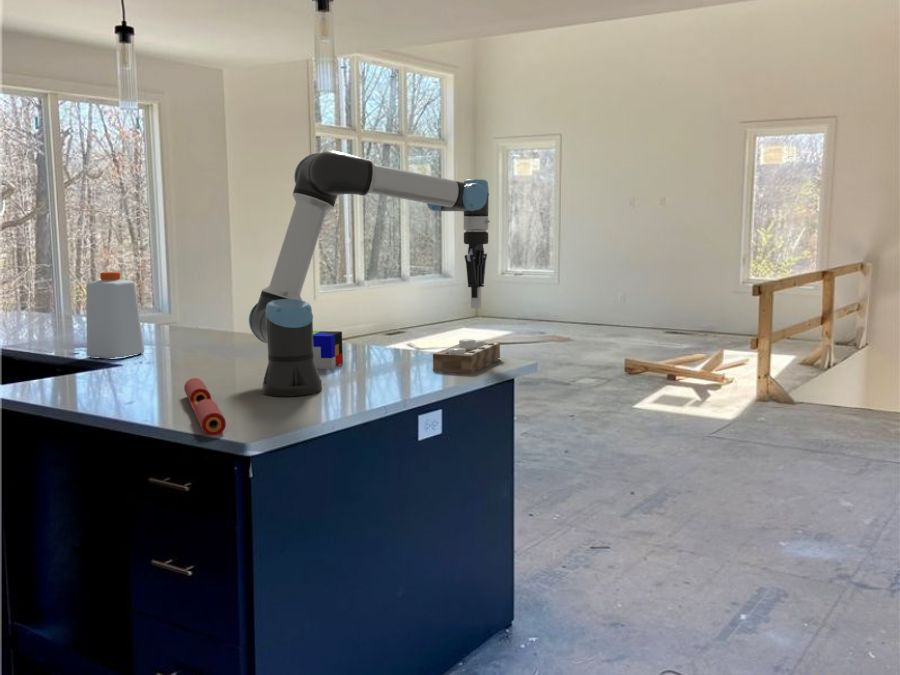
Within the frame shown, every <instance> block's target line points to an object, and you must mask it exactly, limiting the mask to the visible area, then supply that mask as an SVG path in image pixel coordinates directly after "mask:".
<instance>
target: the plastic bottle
mask: <svg viewBox="0 0 900 675" xmlns="http://www.w3.org/2000/svg"><path fill="white" fill-rule="evenodd" d="M99 276H100V277H99V278H100V279H99V280H94V281H91V282H90V281H89V282H88V283H87V284H86V288H85V290H86V297H85V298H86V302H85V304H86V308H85V309H86V310H85V311H86V356H87V357H88V356H90V357H99V358H115V357H124V356H129V355H134V354H140V353H143V354H144V352H145V346H144V345H145V344H144V339H143V338H144V337H143V331H142V325H141V324H142V323H141V319H140V309H139V304H138V297H137V289H136V284H135V282H134V281H133V280H130V279H121V273H120V272H119V271H104V272H103V271H102V272H100V274H99Z"/></svg>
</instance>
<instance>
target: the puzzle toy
mask: <svg viewBox="0 0 900 675" xmlns="http://www.w3.org/2000/svg"><path fill="white" fill-rule="evenodd" d="M313 350H314V362H315V365H316V368H317V370H319V369H321V370H333V369H334V368H337V367H338V366H340V365H342V364H343V363H344V361H343V360H344V356H343V355H344V354H343V353H344V352H343V332H342V331H337V330H336V331H333V330H330V331H326V330H325V331H324V330H313ZM341 363H342V364H341ZM339 364H340V365H339ZM336 366H337V367H336Z"/></svg>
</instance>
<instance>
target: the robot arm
mask: <svg viewBox="0 0 900 675" xmlns="http://www.w3.org/2000/svg"><path fill="white" fill-rule="evenodd" d="M293 178H294V183H295V184H294V189H293V192H292V197H293V199H294V201H295V203H294V207H293V210H292V214H291V217H290V219H289V223H288V226H287V230H286V232H285V236H284V239H283V242H282V245H281V248H280V251H279V254H278V257H277V261H276V264H275V267H274V269H273V274H272V276H271V280H270V283H269V285H268V286H267V287H265V288H263V289H261V291H260V292H261V293H260V295H259V298H258V302H257V303H255V305H254V306H253V307H252V309H251V310H250V312H249V315H248V325H249V329H250V330H251V333H252V334H253V335H254V337H256V339H258V340H259V341H261V342H262V343H264V344H267V357H268V358H267V359H268V360H267V361H268V364H267V366H266V370H265V373H264V378H263V381H262V394H264V395H267V396H272V397H298V396H299V397H300V396H306V395H307V396H308V395H312V394H317V393H319V392H320V391H322V389H323V386H322V385H323V384H322V380H321V376H320V373H319V371H318V370H319V369H317V368H316V365H315V362H314V350H313V331H314V326H313V323H314V322H313V319H314V314H313V311H312V310H313V309H312V306H311V304H310V303H309V302H307V301H305V300H303V299H302V297H301V293H302V290H303V287H304V284H305V280H306V277H307V274H308V270H309V268H310V265H311V261H312V258H313V255H314V252H315V249H316V246H317V242H318V239H319V236H320V233H321V229H322V227H323V224H324V221H325V217H326V214H327V212H329V211H332V210H334V207H335V204H336V201H337V199H338V196H339V195H358V196H367V195H368V194H373V195H374V194H375V195H380V196H386V197H391V198H396V199H402V200H408V201H413V202H418V203H423V204H424V203H426V206H427V207H428V209H429V210H430V211H432V212H439V213H441V212H463V230H464V231H465V232H463V244H465V245H468V248H467V254H464V261H465V266H466V277H467V278H466V279H467V287H468V288H470V309H476V310H479V309H482V288H483V287H485V274H486V262H487V257H488V253H485V249H484V245H488V244H489V232H488V230H489V223H490V222H491V221H490V220H489V199H490V198H489V196H490V192H489V182H488V181H487V180H486V179H479V178H478V179H477V178H476V179H474V178H473V179H472V178H471V179H464V181H463V182H462V181H458V180H457V181H456V180H454V179H453V180H452V179H447V178H442V177H438V176H435V175H434V176H432V175H428V174H424V173H419V172H418V173H417V172H413V171H409V170H404V169H399V168H393V167H388V166H384V165H379V164H374V162H373V161H372V160H371V159H368V158H364V157H359V156H357V155H352V154H350V153H346V152H341V151H337V150H327V151H326V150H325V151H322V152H315V153H311V154H309V155H306V156H305V157H304V158H303V159H301V160H300V161H299V162H298V164H297V165H296V167H295V170H294V176H293Z"/></svg>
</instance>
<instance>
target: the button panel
mask: <svg viewBox="0 0 900 675" xmlns="http://www.w3.org/2000/svg"><path fill="white" fill-rule="evenodd" d="M500 345H501V344H500V343H497V342H489V343H488V342H487V343H486V342H485V345H484V346H482V347H478V346H476V349H474V350H472V351H469V350H466V353H465V354H463V355H455V354H449V349H451V348H459V343H458V344H455V345H452V346H450V347H447V348H444V349H442V350H439V351H436V352H434V353H432V371H434V372H445V373H447V372H448V373H458V374H459V373H461V374H464V373H465V374H473V373H475V372H477V371H480V370H481V369H483V368H485V367H487V366H490V365H492V364H494V363H495V362H494V361H496V362H498V361H500V359H501V348H500V347H501V346H500ZM498 358H500V359H498ZM493 362H494V363H493Z"/></svg>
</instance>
